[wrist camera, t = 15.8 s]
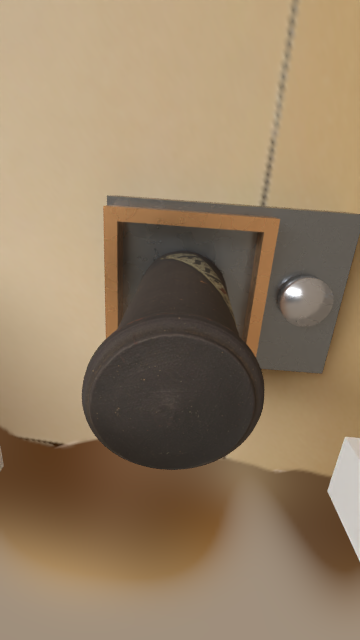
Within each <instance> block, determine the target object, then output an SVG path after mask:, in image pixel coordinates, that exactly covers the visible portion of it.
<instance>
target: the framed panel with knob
mask: <svg viewBox="0 0 360 640" xmlns="http://www.w3.org/2000/svg"><path fill="white" fill-rule="evenodd" d="M103 210H104V262H105V314H106V339H107V338H108V337H109V336H110V335H111V334H112V333H113V332H115V331H116V330H117V329H118V326H119V325H120V323H121V321H122V319H123V316H124V314H125V312H126V310H127V308H128V306H129V304H130V302H131V300H132V298H133V296H134V294H135V292H136V290H137V288H138V286H139V284H140V282H141V280H142V278H143V276H144V274H145V272H146V270H147V269H148V267H149V266H150V265H151V264H152V263H153V262H154V261H155V260H156V259H157V258H159V257H160V256H162V255H164V254H167V253H170V252H175V251H190V252H195V253H198V254H200V255H202V256H204V257H206V258H208V259H209V260H210V261H212V262H213V263H214V264H215V265H216V266H217V268H218V269H219V270H220V272H221V273H222V275H223V278H224V281H225V284H226V288H227V292H228V296H229V300H230V303H231V307H232V310H233V314H234V318H235V322H236V326H237V330H238V333H239V337H240V338H241V339H242V340H243V341H244V342H245V343H246V344H247V345H248V346H249V348H250V349H251V350H252V352H253V353H254V355H255V357H256V359H257V361H258V363H259V365H260V368H261V369H271V370H284V371H296V372H309V373H322V372H323V368H324V365H325V361H326V357H327V353H328V350H329V346H330V342H331V339H332V335H333V331H334V327H335V324H336V320H337V316H338V312H339V309H340V305H341V301H342V298H343V294H344V290H345V286H346V283H347V279H348V275H349V271H350V268H351V264H352V260H353V257H354V253H355V249H356V245H357V242H358V238H359V234H360V214H355V213H346V212H333V211H319V210H306V209H292V208H279V207H265V206H251V205H238V204H224V203H211V202H197V201H183V200H170V199H156V198H142V197H129V196H107V206H103Z"/></svg>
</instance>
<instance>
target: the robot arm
mask: <svg viewBox="0 0 360 640" xmlns="http://www.w3.org/2000/svg"><path fill="white" fill-rule="evenodd" d="M3 466H4V465H3V459H2V453H1V448H0V471H1V469H2V468H3ZM328 493H329V496H330V498H331V500H332V502H333V504H334V506H335V508H336V511H337V513H338V515H339V517H340V519H341V522H342V524H343V526H344V528H345V530H346V533H347V535H348V537H349V539H350V541H351V543H352V545H353V548H354V550H355V552H356V554H357V556H358V558H359V561H360V438H354V437H345V439H344V442H343V445H342V448H341V451H340V454H339V457H338V460H337V463H336V466H335V469H334V472H333V475H332V478H331V482H330V485H329V488H328Z"/></svg>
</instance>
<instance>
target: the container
mask: <svg viewBox="0 0 360 640" xmlns="http://www.w3.org/2000/svg"><path fill="white" fill-rule="evenodd" d="M263 403H264V380H263V375H262V371H261V368H260V365H259V363H258V361H257V359H256V357H255V355H254V353H253V352H252V350H251V349H250V348H249V346H248V345H247V344H246V343H245V342H244V341H243V340H242V339H241V338H240V337H239V333H238V330H237V326H236V322H235V318H234V314H233V310H232V307H231V303H230V300H229V296H228V292H227V288H226V284H225V281H224V278H223V275H222V273H221V272H220V270H219V269H218V268H217V266H216V265H215V264H214V263H213V262H212V261H210V260H209V259H208V258H206V257H204V256H202V255H200V254H198V253H195V252H190V251H175V252H170V253H167V254H164V255H162V256H160V257H159V258H157V259H156V260H155V261H154V262H153V263H152V264H151V265H150V266H149V267H148V269H147V270H146V272H145V274H144V276H143V278H142V280H141V282H140V284H139V286H138V288H137V290H136V292H135V294H134V296H133V298H132V300H131V302H130V304H129V306H128V308H127V310H126V312H125V314H124V316H123V319H122V321H121V323H120V325H119V326H118V329H117V330H116V331H115V332H113V333H112V334H111V335H110V336H109V337H108V338H107V339H106V340H105V341H104V342H103V343H102V344H101V345H100V346H99V347H98V349H97V350H96V352H95V353H94V355H93V356H92V358H91V360H90V362H89V364H88V367H87V370H86V373H85V376H84V381H83V388H82V404H83V410H84V413H85V417H86V420H87V422H88V424H89V426H90V428H91V430H92V432H93V433H94V434H95V436H96V437H97V438H98V440H99V441H100V442H101V443H102V444H103V445H104V446H105V447H107V448H108V449H109V450H110V451H112V452H113V453H115V454H116V455H118V456H120V457H121V458H123V459H126V460H128V461H130V462H133V463H135V464H139V465H142V466H146V467H150V468H156V469H167V470H177V469H188V468H194V467H198V466H202V465H206V464H209V463H211V462H214V461H216V460H218V459H220V458H222V457H224V456H226V455H228V454H229V453H230V452H232V451H233V450H235V449H236V448H237V447H238V446H240V445H241V444H242V443H243V442H244V441H245V440H246V439H247V437H248V436H249V435H250V434H251V432H252V431H253V429H254V427H255V426H256V424H257V422H258V420H259V418H260V415H261V412H262V409H263Z"/></svg>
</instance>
